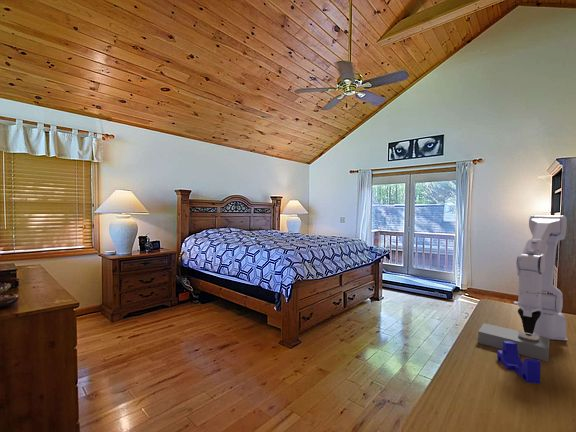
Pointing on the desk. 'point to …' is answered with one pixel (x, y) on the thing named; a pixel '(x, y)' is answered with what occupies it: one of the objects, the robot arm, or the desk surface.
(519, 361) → the cable clip
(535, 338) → the headed pin
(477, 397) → the desk surface
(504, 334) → the grey flat block
